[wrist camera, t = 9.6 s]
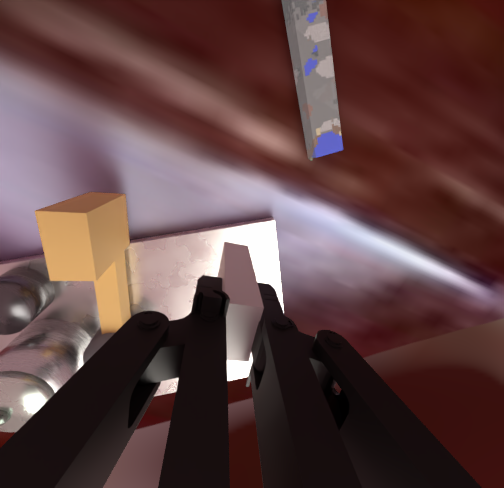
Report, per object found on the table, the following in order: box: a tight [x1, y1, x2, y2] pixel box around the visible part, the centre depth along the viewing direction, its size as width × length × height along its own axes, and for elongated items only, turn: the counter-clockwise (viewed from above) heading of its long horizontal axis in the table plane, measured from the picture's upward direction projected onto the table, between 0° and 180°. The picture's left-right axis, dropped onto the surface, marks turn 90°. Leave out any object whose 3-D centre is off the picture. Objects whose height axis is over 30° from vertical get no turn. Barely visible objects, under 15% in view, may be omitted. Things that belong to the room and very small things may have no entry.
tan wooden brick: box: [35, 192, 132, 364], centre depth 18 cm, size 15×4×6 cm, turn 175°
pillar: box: [282, 0, 343, 161], centre depth 16 cm, size 2×2×20 cm
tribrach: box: [0, 217, 284, 432], centre depth 21 cm, size 26×17×7 cm, turn 97°
